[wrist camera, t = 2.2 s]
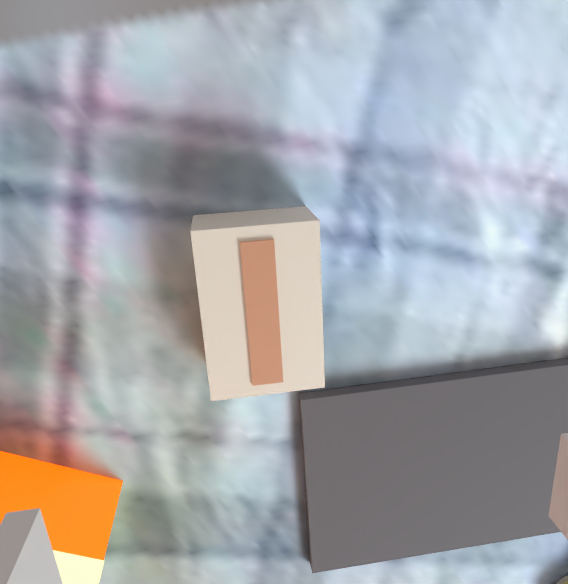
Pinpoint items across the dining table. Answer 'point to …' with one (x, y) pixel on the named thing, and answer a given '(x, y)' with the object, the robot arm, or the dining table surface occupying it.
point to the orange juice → (64, 511)
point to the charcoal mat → (431, 462)
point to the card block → (260, 300)
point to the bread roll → (563, 580)
